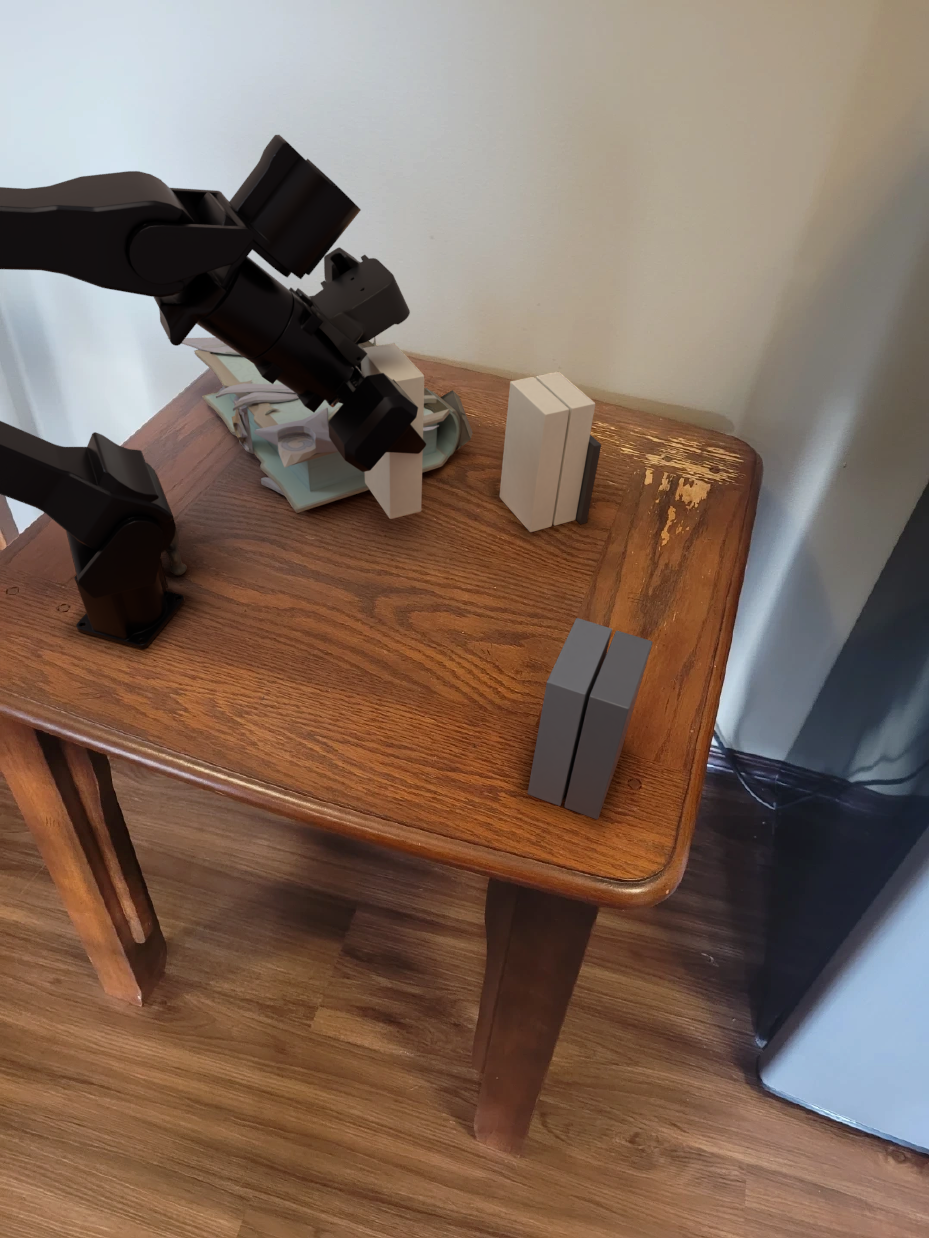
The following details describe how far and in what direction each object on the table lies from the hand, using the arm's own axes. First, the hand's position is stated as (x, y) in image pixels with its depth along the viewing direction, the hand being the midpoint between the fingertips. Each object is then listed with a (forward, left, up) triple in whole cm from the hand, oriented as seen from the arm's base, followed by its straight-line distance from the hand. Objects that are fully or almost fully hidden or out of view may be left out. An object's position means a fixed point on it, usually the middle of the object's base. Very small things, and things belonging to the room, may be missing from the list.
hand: (407, 429), depth 72 cm
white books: (+10, -11, -12) cm, 19 cm away
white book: (-1, +1, -7) cm, 7 cm away
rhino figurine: (-8, +23, -13) cm, 28 cm away
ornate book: (+15, +15, -13) cm, 25 cm away
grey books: (-21, -21, -12) cm, 32 cm away
